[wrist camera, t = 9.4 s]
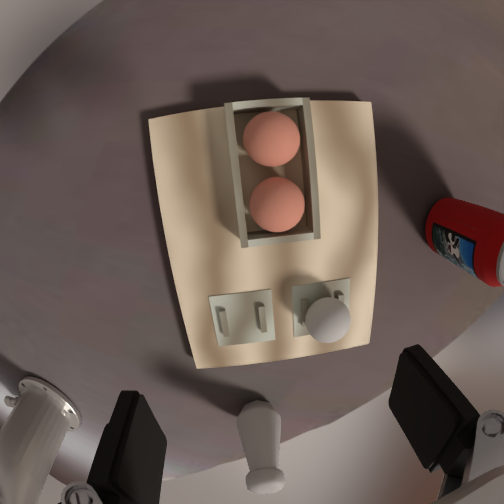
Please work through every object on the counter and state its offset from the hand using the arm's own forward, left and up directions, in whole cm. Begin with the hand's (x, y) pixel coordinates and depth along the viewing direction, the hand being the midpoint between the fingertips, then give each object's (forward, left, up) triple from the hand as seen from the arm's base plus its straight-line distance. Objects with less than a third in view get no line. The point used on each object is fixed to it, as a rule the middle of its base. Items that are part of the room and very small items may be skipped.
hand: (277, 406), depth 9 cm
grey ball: (+7, -7, -18) cm, 21 cm away
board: (+3, 0, -20) cm, 20 cm away
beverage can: (+23, 0, -20) cm, 30 cm away
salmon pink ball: (+3, +4, -18) cm, 19 cm away
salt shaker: (-1, -23, -20) cm, 31 cm away
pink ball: (+3, +9, -18) cm, 20 cm away
